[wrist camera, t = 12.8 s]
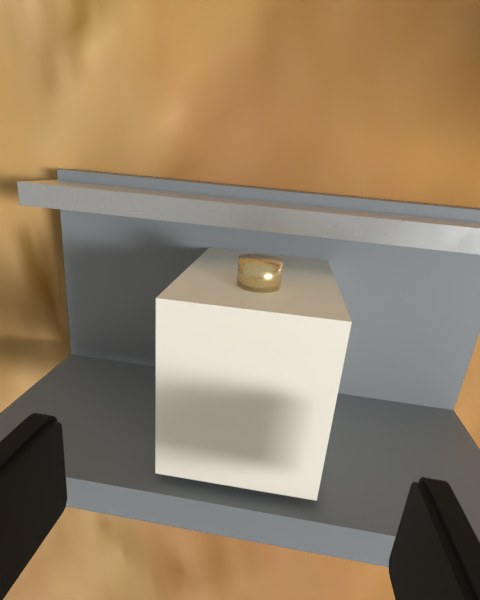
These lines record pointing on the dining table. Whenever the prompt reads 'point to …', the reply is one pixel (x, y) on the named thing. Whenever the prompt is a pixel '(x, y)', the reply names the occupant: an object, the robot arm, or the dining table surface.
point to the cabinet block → (249, 371)
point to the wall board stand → (355, 375)
